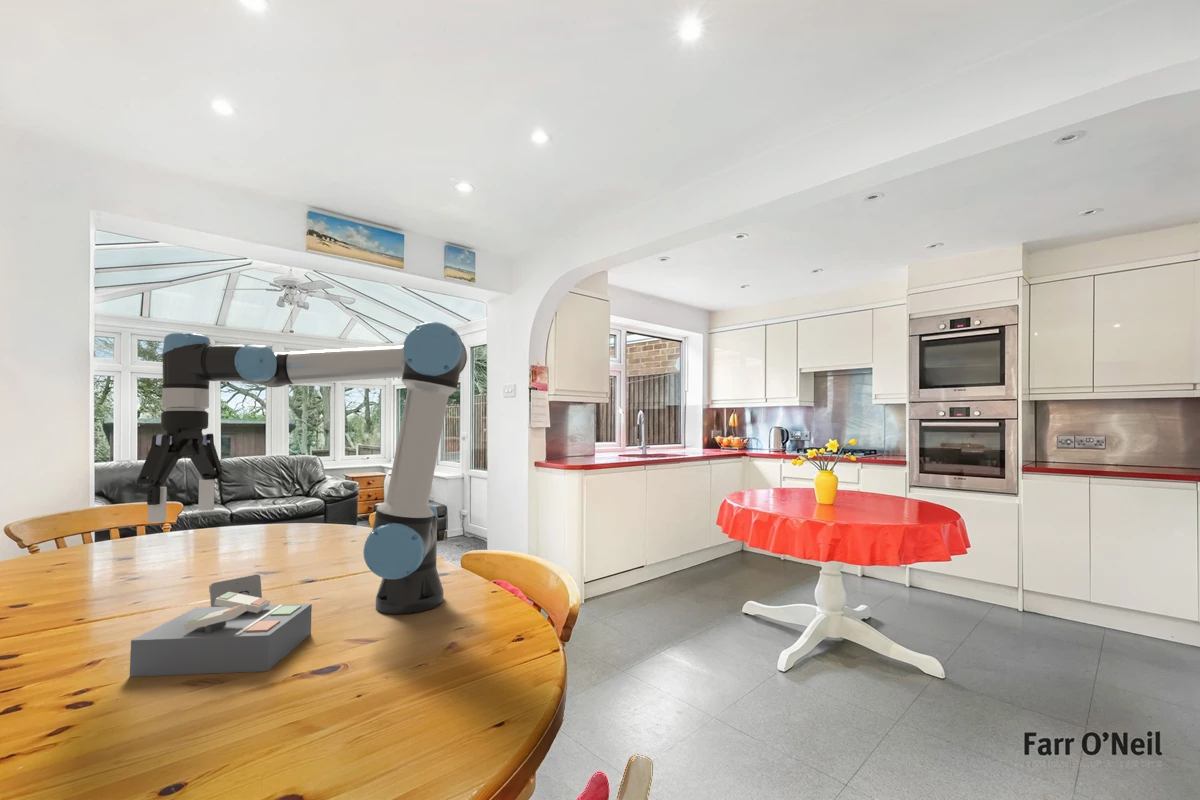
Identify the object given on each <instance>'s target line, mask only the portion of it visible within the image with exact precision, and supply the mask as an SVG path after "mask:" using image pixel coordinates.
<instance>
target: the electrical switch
mask: <svg viewBox="0 0 1200 800" xmlns="http://www.w3.org/2000/svg"><path fill="white" fill-rule="evenodd" d="M208 589H209V591H208V592H209V598H210V607H224V606H218V605H214V603H215V600H216V598H218V597H219V596H221V595H223V594H225V593H227V592H233V593H238V594H243V595H249V596H254V597H259V598H263V594H262V581H261V575H260V574H258V573H257V574H251V575H250V574H249V575H246V576H242V577H241V576H240V577H237V578H230V579H225V580H220V581H216V582H211V583H210V584H209V588H208Z"/></svg>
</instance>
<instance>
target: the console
mask: <svg viewBox="0 0 1200 800" xmlns="http://www.w3.org/2000/svg"><path fill="white" fill-rule="evenodd" d="M312 605H313V604H312V603H298V604H269V606H268V607H266V608H265V609H263V610H261V611H260V612H258V613H255V612H250V611H246V612H244V613H242V614H241V615H239V616H237V617H236V618H234V619H230V620H227V621H223V622H219V623H215V624H211V625H207V626H203V627H199V628H195V629H191V630H187V631H185V626H184V624H185V623H187V622H188V621H190V620H192V619H193V618H195V617H197V616H199V615H203V614H207V613H213V612H217V611H221V610H225V609H229V607H211V606H200V607H194V608H192V609H190V610H188V611H185V612H184V613H182V614H180V615H178V616H176V617H174V618H173V619H170V620H169V621H167V622H164V623H163V624H161V625H158V626H157V627H155V628H152V629H151V630H149V631H146V632H144V633H143V634H140V635H138V636H136V637H135V638H133V639H131V641H130V655H129V656H130V657H129V658H130V659H129V660H130V661H129V677H130V678H134V677H136V678H137V677H159V676H180V675H181V676H183V675H185V676H186V675H204V674H205V675H206V674H209V675H210V674H225V673H226V674H230V673H231V674H232V673H255V672H256V673H257V672H269V671H270V669H272V668H274V667H275V666H276V665H277V663H279V662H280V661H282V659H284V658H285V657H286V656H287V655H289V654H290V653H291V652H292V651H293V650H294V649H296V648H297V647H298V646H299V645H301V643H302V642H303V641H305V640H306V639H307V638H308V637H309V636H310V635H312Z"/></svg>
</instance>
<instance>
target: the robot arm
mask: <svg viewBox="0 0 1200 800" xmlns="http://www.w3.org/2000/svg"><path fill="white" fill-rule="evenodd" d="M161 357H162V386H161V387H162V388H161V389H162V390H161V392H162V394H161V408H162V409H165V411H163V410H162V412H161V413H160V418H161V419H160V428H161V430H165V431H166V434H165V433H164V434H153V435H152V437H151V446H150V449H149V451H148V453H147V456H146V458H145V461H144V463H143V465H142V468H141V470H140V473H139V475H138V477H137V480H136V484H137V485H138V486H140V488H142V489H143V488H146V489H147V493H146V495H147V497H146V499H147V500H146V503H147V523H164V522H166V521H167V498H168V497H167V494H168V493H167V492H168V490H167V489H168V487H167V486H164V484H165V483H166V481H167V479H168V478H169V476H170V475H171V473H172V471H173V469H174V467H176V465H177V463H178V461H179V460H180V459H183V457H187V458H189V459H190V461H191V462H192V463H193V465H194V467H195V469H196V470H197V472H198V473H199V475H200V477H201V478H202V479H199V480H198V505H197V507H198V508H197V510H198V512H199V511H200V512H201V511H202V512H204V511H214V510H215V490H216V489H215V488H216V487H215V486H216V480H217V479H218V480H219V479H221V477H222V475H223V471H224V470H223V468H222V465H221V462H220V458H219V456H218V452H217V449H216V445H215V441H214V440H215V439H214V438H215V437H214V433H203V430H206V429H208V428H209V415H210V414H209V412H208V411H206V409H209V407H210V382H242V383H247V384H254V385H260V386H264V387H267V388H280V387H285V386H287V385H289V386H290V385H297V384H298V385H300V384H314V383H316V384H317V383H332V382H343V381H344V382H345V381H347V382H348V381H363V380H379V379H393V378H394V379H395V378H401V382H402V383H403V384H404V386H405V387H406V390H407V391H406V395H405V396H406V397H405V401H404V406H403V410H402V416H401V421H400V426H399V432H398V438H397V442H396V448H395V452H394V458H393V462H392V466H391V467H392V469H391V474H390V478H389V485H388V488H387V493H386V494H387V495H386V499H385V500H384V501H383V502H382V503H380V504H379V505H378V506H377V507H376V510H375V516H374V521H373V526H372V530H371V531H370V533H369V534H368V536H367V537H366V540H365V542H364V544H363V545H364V546H363V558H364V562H365V565H366V566H367V567H368V569H369V571H371V573H373V574H375V575H376V576H377V577H379V578H381V581H380V584H379V586H378V589H377V590H378V591H377V593H376V595H375V609H376V610H377V611H378V612H381V613H384V614H392V615H395V614H396V615H402V614H403V615H405V614H406V613H407V614H413V613H412V612H415V613H420V612H424V610H425V611H429V610H431V609H433V608H434V609H435V608H436V607H438V606H440V605H441V604H443V602H444V597H445V596H444V588H443V584H442V582H441V579H440V575H439V571H438V569H437V552H438V551H437V550H438V548H437V546H438V544H437V543H438V542H437V541H438V539H437V538H438V534H437V533H438V519H439V516H438V509H437V507H436V506H435V505H433V504H431V505H429V501H430V495H431V491H432V486H433V480H434V474H435V469H436V464H437V457H438V453H439V449H440V444H441V438H442V432H443V427H444V421H445V416H446V410H447V406H448V405H447V404H448V401H449V398H450V397H449V396H451V395H452V394H454V393H455V392H457V390H458V386H459V385H458V384H459V380H460V374H461V373H462V372H463V370H464V369H465V367H466V364H467V362H468V361H467V359H468V353H467V349H466V346H465V345H464V343H463V342H462V338H461V336H460V334H458V332H457V330H454V329H453V328H452V327H450V326H448V325H447V324H444V323H442V322H437V321H427V322H423V323H420V324H418V325H416V326H415V327H413V328H412V329H411V330H410V331H409V332H408V334H407V335H406V336H405V339H404V341H403V345H393V346H390V345H389V346H373V347H357V348H341V349H339V348H337V349H323V350H322V349H319V350H318V349H317V350H303V351H289V352H288V351H287V352H286V351H285V352H284V351H283V352H274V351H273V349H272V348H271V347H270V346H268V345H260V344H259V345H258V344H257V345H256V344H254V343H249V344H211V341H210V337H208V336H207V335H203V334H198V333H189V332H188V333H186V332H173V333H168V334H166V335H165V336H164V339H163V348H162V353H161ZM439 604H440V605H439ZM419 611H420V612H419ZM404 613H405V614H404Z"/></svg>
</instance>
